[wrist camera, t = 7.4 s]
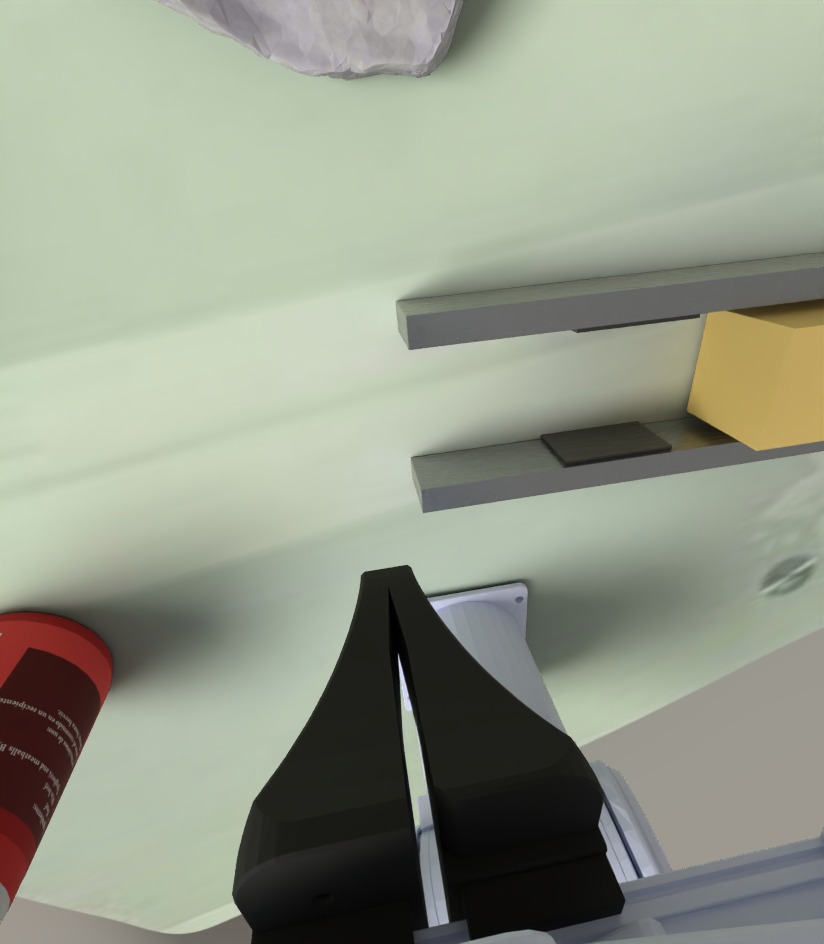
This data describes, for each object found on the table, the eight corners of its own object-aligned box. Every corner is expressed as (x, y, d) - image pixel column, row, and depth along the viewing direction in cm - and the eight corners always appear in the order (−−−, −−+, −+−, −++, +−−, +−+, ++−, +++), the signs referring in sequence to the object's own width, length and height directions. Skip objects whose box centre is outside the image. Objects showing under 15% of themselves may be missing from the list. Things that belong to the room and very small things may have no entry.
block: (796, 395, 24) (886, 430, 20) (686, 410, 24) (757, 451, 20) (831, 291, 22) (941, 309, 18) (709, 306, 21) (794, 328, 17)
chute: (873, 410, 26) (934, 433, 23) (412, 479, 23) (423, 513, 21) (947, 238, 21) (1032, 242, 19) (395, 301, 19) (406, 316, 17)
